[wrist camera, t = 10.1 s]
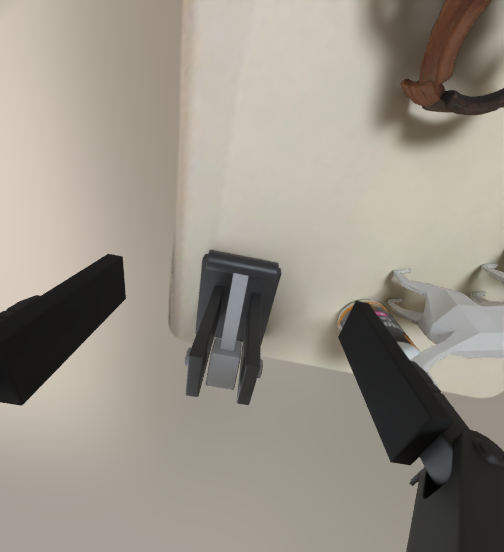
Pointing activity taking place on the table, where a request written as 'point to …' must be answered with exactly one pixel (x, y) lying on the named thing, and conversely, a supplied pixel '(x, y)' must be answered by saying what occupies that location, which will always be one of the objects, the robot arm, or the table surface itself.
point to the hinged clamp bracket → (212, 324)
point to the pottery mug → (449, 63)
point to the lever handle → (233, 312)
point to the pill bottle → (390, 325)
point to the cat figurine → (455, 321)
